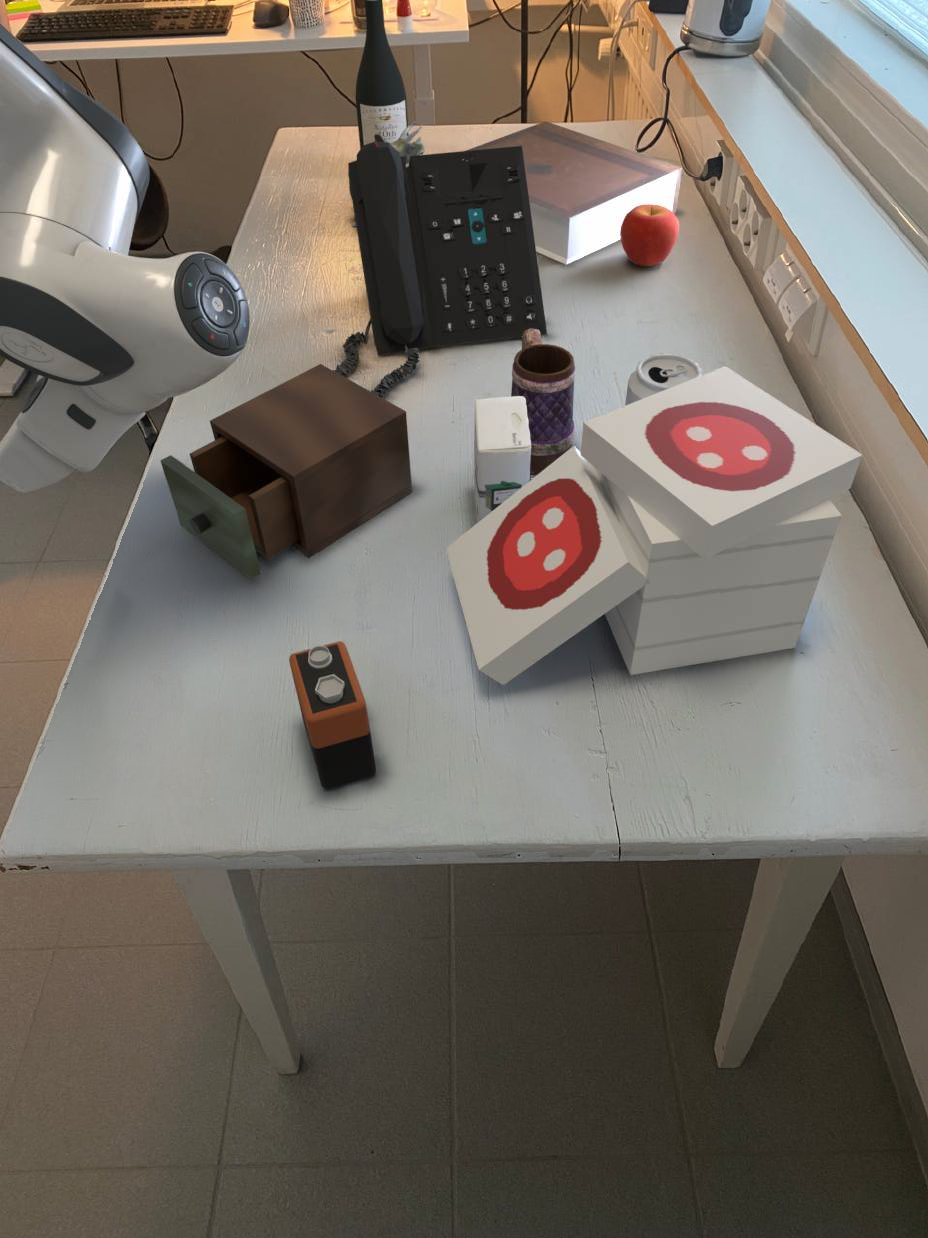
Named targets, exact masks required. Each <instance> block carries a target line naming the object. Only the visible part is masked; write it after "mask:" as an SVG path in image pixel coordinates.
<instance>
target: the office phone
mask: <svg viewBox="0 0 928 1238" xmlns="http://www.w3.org/2000/svg"><path fill="white" fill-rule="evenodd" d="M347 172H348V173H347V175H348V183H349V182H350V189H351V195H352V198H351V202H352V209H353V214H354V218H355V220H354V222H355V223H356V227H357V228H356V233H357V234H356V235H357V240H358V246H359V253H360V259H361V266H362V272H363V278H364V284H365V289H366V290H365V292H366V298H367V304H368V311H369V320H368V323H367V325H366V327H365V330H364V331H365V332H364V331H357V332H355V333H350V336H347V338H346V339H345V342H344V343H343V345H342V347H343V348H344V349H343V351H344V353H345V354H346V355H345V359H344V360H342V361H341V363H340V364H338V363H337V365H336V368H335V369H332V370H333V371H335V372H336V373H338V374H340V375H342V376H344V377H345V376H347V374H350V371H353V369H354V368H355V367H357V366H358V364H357V362H358V360H359V359H360V355H359V354H360V353H359V351H360V349H358V348H357V346H360V345H361V343H362V344H363V343H365V344H368V343H367V342H368V337H369V334H370V329H371V330H372V336H373V337H372V338H373V343H374V346H375V349H376V353H377V356H381V355H390V354H395V353H403V352H405V355H406V357H407V360H405V362H404V363H403V364H399V367H397V368H396V369H393V370H392V371H391V372H390V373H386V374H385V375H384V376H383V378H381V379H380V381H379V384H377V385H376V386H375V387H374V388H373V389H371V390H370V392H372V393H374V394H376V395H378V396H379V397H381V398H383V399H384V396H386V394H387V391H391V388H392V387H393V385H394V384H395V383H397V382H398V381H400V382H402V380H404V378H407V377H408V375H412V374H414V373H415V371H416V370H417V364H418V363H419V362H421V360H420V353H419V352H420V350H424V349H431V348H436V347H443V346H451V345H459V344H460V345H461V344H469V343H479V342H487V341H496V340H504V339H505V340H506V339H514V338H522V337H523V331H525V330H528V329H531V328H533V329H536V330H540V334H541V335H547V334H548V330H547V322H546V314H545V308H544V299H543V293H542V292H543V291H542V285H541V278H540V277H541V276H540V270H539V263H538V256H537V255H538V254H537V252H536V247H535V240H534V232H533V225H532V217H531V210H530V202H529V195H528V187H527V180H526V173H525V165H524V158H523V150H522V146H515V147H504V148H493V149H482V150H471V151H466V150H462V151H452V152H451V151H450V152H439V153H429V154H428V153H427V154H423V155H416V156H410V161H409V169H406V163H405V157H403V156H400V153H399V152H398V151H397V150H396V149H395V148H394V147H393V146H392V145H391V144H390V143H387V142H377V141H375V142H372V143H369V144H366V145H363V146H362V148H361V149H359V150H358V152H357V153H356V159H355V160H353V161H351V162H348V163H347ZM351 195H350V196H351Z"/></svg>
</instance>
